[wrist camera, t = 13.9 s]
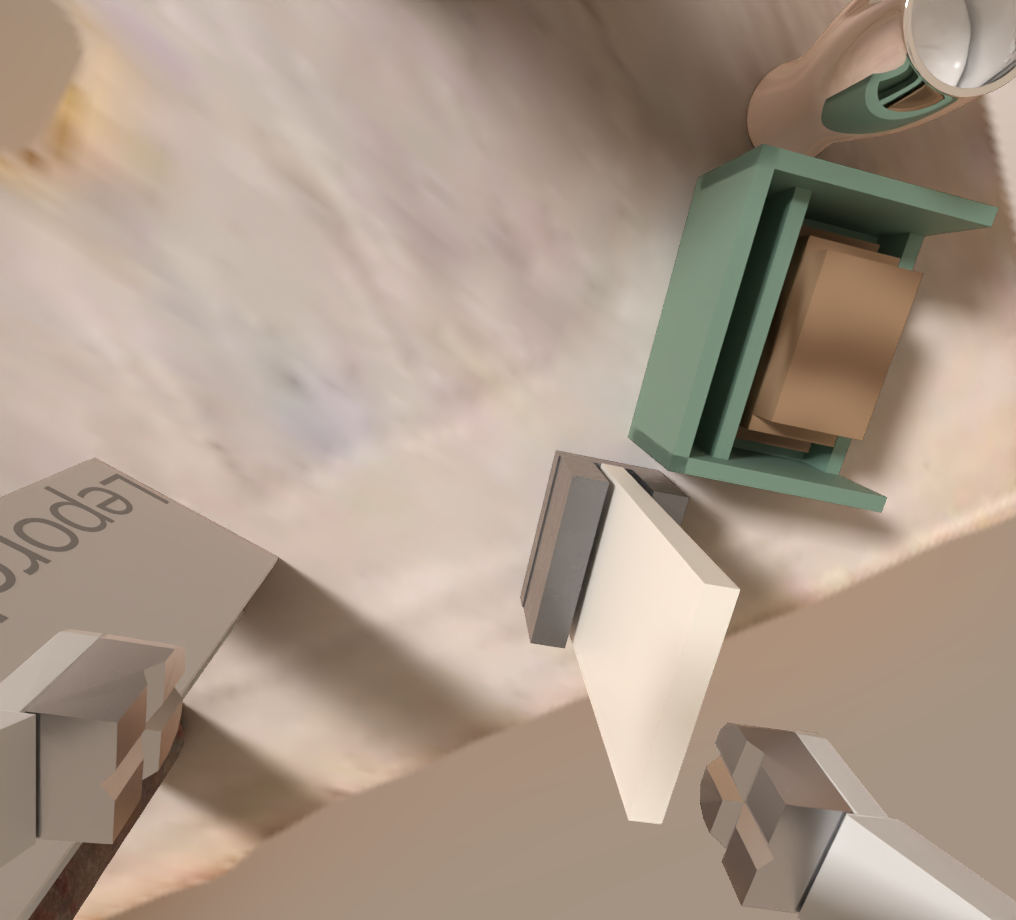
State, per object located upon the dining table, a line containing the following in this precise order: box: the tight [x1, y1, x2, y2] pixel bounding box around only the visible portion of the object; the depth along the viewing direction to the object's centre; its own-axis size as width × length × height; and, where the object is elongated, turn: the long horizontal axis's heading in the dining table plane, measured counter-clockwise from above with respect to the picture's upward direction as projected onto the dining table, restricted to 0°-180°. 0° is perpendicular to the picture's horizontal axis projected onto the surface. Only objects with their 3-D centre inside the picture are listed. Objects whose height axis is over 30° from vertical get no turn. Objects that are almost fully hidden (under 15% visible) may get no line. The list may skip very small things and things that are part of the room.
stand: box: [520, 450, 689, 648], centre depth 43 cm, size 12×8×6 cm, turn 168°
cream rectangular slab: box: [569, 463, 740, 824], centre depth 35 cm, size 12×2×19 cm, turn 168°
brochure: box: [0, 458, 278, 920], centre depth 29 cm, size 14×6×30 cm, turn 56°
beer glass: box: [747, 0, 1016, 157], centre depth 32 cm, size 7×7×15 cm
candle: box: [28, 723, 184, 920], centre depth 38 cm, size 8×7×20 cm
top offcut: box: [753, 249, 923, 441], centre depth 36 cm, size 10×6×2 cm, turn 168°
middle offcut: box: [739, 235, 900, 447], centre depth 39 cm, size 12×6×2 cm, turn 168°
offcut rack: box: [628, 144, 998, 512], centre depth 39 cm, size 18×14×9 cm
